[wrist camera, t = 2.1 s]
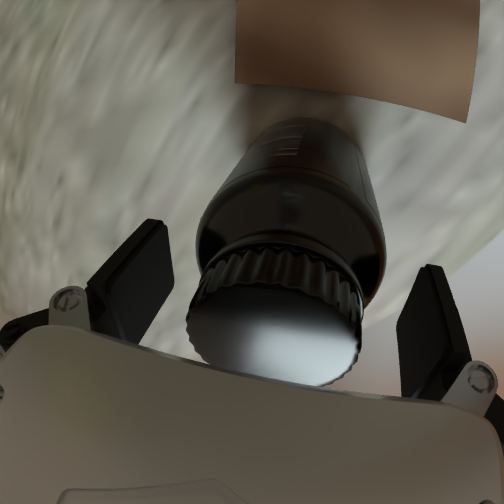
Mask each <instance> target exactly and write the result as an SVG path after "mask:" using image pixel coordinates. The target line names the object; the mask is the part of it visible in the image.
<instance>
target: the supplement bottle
mask: <svg viewBox="0 0 504 504" xmlns="http://www.w3.org/2000/svg"><path fill="white" fill-rule="evenodd" d="M196 258H197V264H198V268H199V271H200V274H201V279H200V282H199V287H198V289H197V291H196V293H195V295H194V297H193V299H192V301H191V303H190V306H189V311H188V313H187V316H186V322H187V327H186V331H187V333H188V335H189V336H190V337H189V341H190V342H191V343H192V344H193V346H194V349H195V351H196V352H197V353H198V354H200V355H201V357H202V359H203V360H204V361H206V362H207V363H209V364H210V365H213V366H218V367H222V368H226V369H230V370H235V371H239V372H244V373H248V374H253V375H258V376H262V377H267V378H273V379H278V380H283V381H289V382H294V383H300V384H306V385H312V386H318V387H323V386H325V385H329V384H332V383H333V382H334V381H335V380H338V379H341V378H343V376H344V374H345V373H347V372H349V371H350V370H351V368H352V365H354V364H355V363H356V362H357V360H358V354H359V353H360V351H361V347H362V325H361V322H362V319H363V314H364V309H365V308H366V307H367V306H368V305H369V303H370V302H371V301H372V299H373V298H374V296H375V295H376V293H377V291H378V289H379V287H380V285H381V283H382V280H383V277H384V274H385V268H386V259H387V254H386V243H385V237H384V232H383V227H382V223H381V219H380V215H379V211H378V207H377V203H376V199H375V195H374V191H373V188H372V184H371V181H370V177H369V174H368V170H367V167H366V164H365V161H364V159H363V156H362V154H361V152H360V150H359V148H358V147H357V145H356V144H355V143H354V141H353V140H352V139H351V138H350V137H349V136H348V135H347V134H346V133H344V132H343V131H342V130H340V129H339V128H337V127H336V126H334V125H332V124H330V123H327V122H325V121H321V120H317V119H312V118H295V119H290V120H286V121H283V122H280V123H278V124H275V125H274V126H272V127H270V128H269V129H267V130H266V131H265V132H263V133H262V134H261V135H260V136H259V137H258V138H257V139H256V141H255V142H254V143H253V144H252V145H251V147H250V148H249V149H248V151H247V152H246V153H245V155H244V156H243V157H242V159H241V160H240V161H239V163H238V164H237V165H236V167H235V168H234V169H233V171H232V172H231V173H230V175H229V176H228V178H227V179H226V180H225V182H224V183H223V184H222V186H221V187H220V189H219V190H218V191H217V193H216V194H215V196H214V197H213V199H212V200H211V202H210V203H209V205H208V206H207V208H206V210H205V212H204V214H203V216H202V218H201V220H200V223H199V226H198V230H197V234H196Z"/></svg>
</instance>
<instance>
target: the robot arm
mask: <svg viewBox="0 0 504 504" xmlns="http://www.w3.org/2000/svg"><path fill="white" fill-rule="evenodd" d="M87 285H88V286H87V287H86V288H85V290H84V289H83V288H81V287H79V286H68V287H65V288H62V289H60V290H59V291H57V292H56V293H55V294H54V295H53V296H52V298H51V299H50V302H49V308H47V309H44V310H41V311H38V312H35V313H32V314H29V315H26V316H23V317H20V318H17V319H14V320H12V321H9V322H8V323H6V324H5V325H4V326H3V328H2V329H1V331H0V504H504V400H503V399H501V397H500V396H499V395H497V394H496V392H497V388H498V379H497V376H496V374H495V372H494V371H493V369H492V368H491V367H490V366H489V365H487V364H485V363H484V362H481V361H472V358H471V354H470V350H469V346H468V343H467V339H466V335H465V332H464V328H463V325H462V322H461V318H460V316H459V312H458V309H457V307H456V305H455V302H454V299H453V296H452V293H451V290H450V287H449V284H448V281H447V279H446V276H445V273H444V271H443V268H442V267H441V266H437V265H431V264H426V266H425V267H421V268H420V270H419V272H418V275H417V277H416V280H415V282H414V285H413V287H412V289H411V292H410V294H409V296H408V299H407V301H406V303H405V305H404V308H403V310H402V312H401V314H400V316H399V318H398V321H397V325H396V332H397V341H398V352H399V364H400V377H401V393H402V394H401V396H402V397H396V396H387V395H378V394H369V393H361V392H353V391H345V390H338V389H331V388H324V387H318V386H312V385H306V384H300V383H294V382H289V381H283V380H278V379H273V378H267V377H262V376H258V375H253V374H248V373H244V372H239V371H235V370H230V369H226V368H222V367H218V366H213V365H209V364H205V363H201V362H197V361H194V360H190V359H186V358H182V357H179V356H175V355H171V354H168V353H164V352H161V351H157V350H154V349H151V348H147V347H144V346H141V345H138V344H139V342H140V341H141V339H142V338H143V336H144V334H145V333H146V331H147V329H148V328H149V326H150V324H151V323H152V321H153V320H154V318H155V316H156V315H157V313H158V312H159V310H160V308H161V307H162V305H163V304H164V302H165V300H166V299H167V297H168V296H169V294H170V292H171V291H172V289H173V287H174V274H173V267H172V260H171V252H170V244H169V236H168V228H167V226H166V225H164V223H163V221H161V220H155V219H146V220H145V221H144V222H143V223H142V224H141V225H140V226H139V227H138V228H137V229H136V230H135V231H134V232H133V233H132V234H131V236H130V237H129V238H128V239H127V240H126V241H125V242H124V243H123V244H122V245H121V246H120V247H119V248H118V249H117V250H116V251H115V252H114V253H113V254H112V255H111V257H110V258H109V259H108V260H107V261H106V262H105V263H104V264H103V265H102V266H101V267H100V269H99V270H98V271H97V272H96V273H95V274H94V275H93V276H92V277H91V279H90V280H89V281H88V282H87Z"/></svg>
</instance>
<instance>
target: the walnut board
mask: <svg viewBox="0 0 504 504" xmlns="http://www.w3.org/2000/svg"><path fill="white" fill-rule="evenodd" d="M479 17H480V0H237V20H236V53H235V83H240V84H259V85H274V86H285V87H296V88H305V89H313V90H321V91H328V92H335V93H341V94H348V95H353V96H359V97H365V98H370V99H375V100H380V101H385V102H389V103H394V104H398V105H402V106H407V107H411V108H415V109H419V110H422V111H426V112H430V113H433V114H437V115H440V116H444V117H447V118H451V119H454V120H457V121H460V122H463V123H466V121H467V116H468V111H469V105H470V100H471V94H472V87H473V81H474V73H475V66H476V57H477V47H478V35H479Z"/></svg>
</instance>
